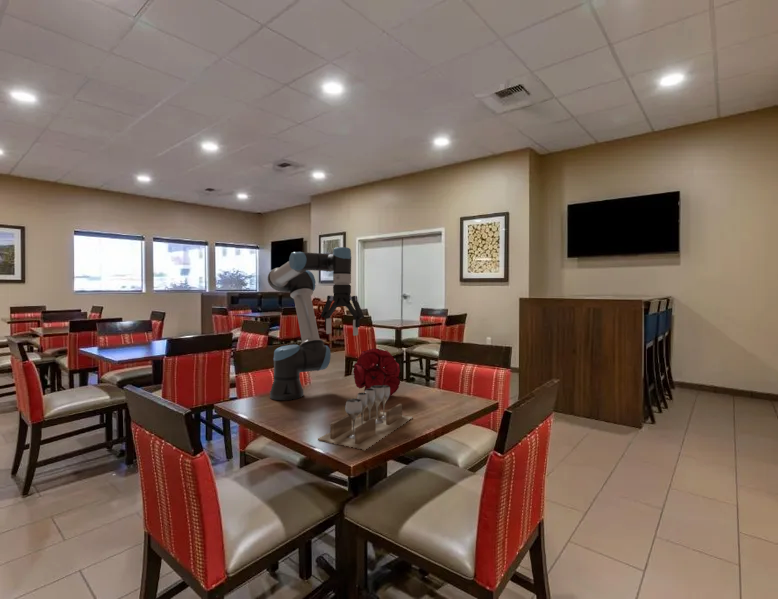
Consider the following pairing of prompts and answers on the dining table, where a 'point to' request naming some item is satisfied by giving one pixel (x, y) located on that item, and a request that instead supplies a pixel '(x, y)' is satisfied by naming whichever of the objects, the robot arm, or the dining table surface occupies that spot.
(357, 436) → the glass rack
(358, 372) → the bouquet
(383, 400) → the goblet set
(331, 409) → the dining table surface
